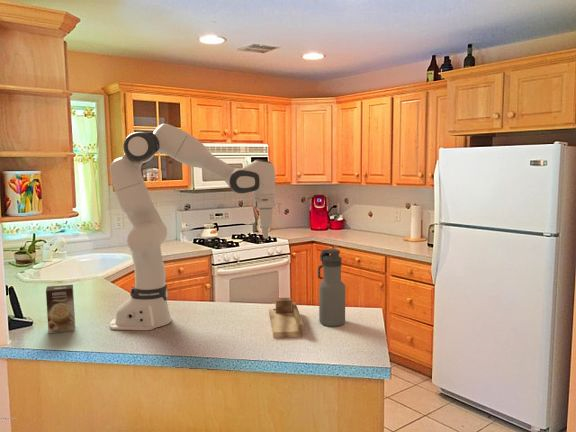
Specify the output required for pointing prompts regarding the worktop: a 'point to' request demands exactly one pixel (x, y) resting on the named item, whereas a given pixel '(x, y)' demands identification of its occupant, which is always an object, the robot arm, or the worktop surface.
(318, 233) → the worktop surface
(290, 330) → the board
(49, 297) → the coffee box
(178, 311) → the worktop surface
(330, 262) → the water bottle
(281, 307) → the brown block
